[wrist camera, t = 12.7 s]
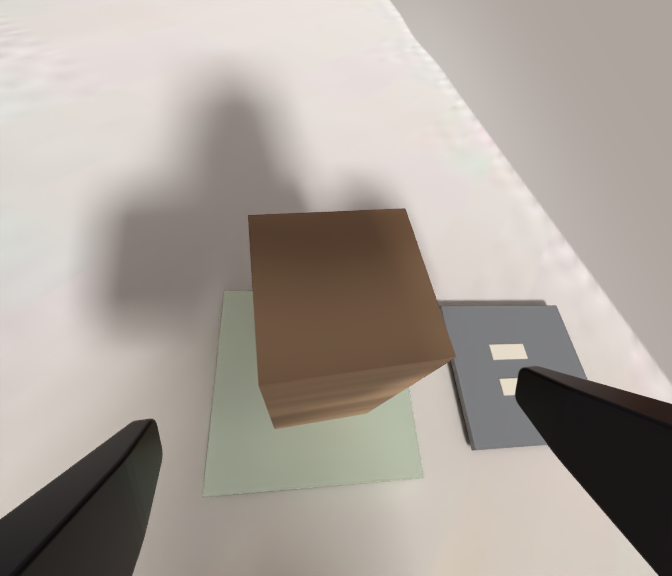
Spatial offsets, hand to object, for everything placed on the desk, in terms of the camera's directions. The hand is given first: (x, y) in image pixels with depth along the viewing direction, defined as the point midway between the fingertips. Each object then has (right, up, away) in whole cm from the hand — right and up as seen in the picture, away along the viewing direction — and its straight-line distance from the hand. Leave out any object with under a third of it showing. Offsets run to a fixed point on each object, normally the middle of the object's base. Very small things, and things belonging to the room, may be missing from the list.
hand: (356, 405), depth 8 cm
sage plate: (-2, -2, +10) cm, 10 cm away
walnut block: (-2, -2, +9) cm, 9 cm away
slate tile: (+10, -2, +11) cm, 15 cm away
